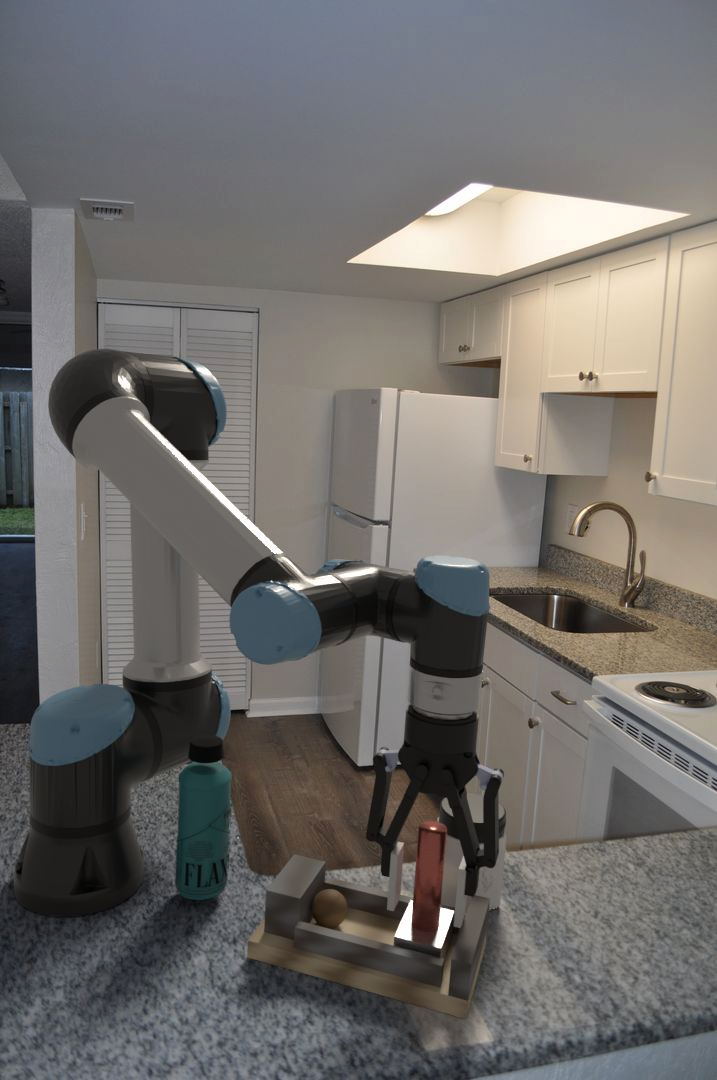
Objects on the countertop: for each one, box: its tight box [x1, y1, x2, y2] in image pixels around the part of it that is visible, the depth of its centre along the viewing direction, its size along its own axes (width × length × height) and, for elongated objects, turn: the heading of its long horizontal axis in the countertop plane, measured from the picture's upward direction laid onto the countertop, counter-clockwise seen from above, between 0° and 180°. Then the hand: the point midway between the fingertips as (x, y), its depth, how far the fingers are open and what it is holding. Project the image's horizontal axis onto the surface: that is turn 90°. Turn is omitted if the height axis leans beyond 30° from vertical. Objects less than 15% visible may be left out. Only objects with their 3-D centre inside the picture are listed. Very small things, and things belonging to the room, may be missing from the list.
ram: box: [394, 820, 454, 959], centre depth 87 cm, size 5×7×14 cm
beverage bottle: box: [173, 735, 233, 901], centre depth 97 cm, size 6×7×20 cm
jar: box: [436, 792, 507, 914], centre depth 101 cm, size 9×8×12 cm
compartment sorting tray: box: [246, 853, 490, 1020], centre depth 90 cm, size 24×12×7 cm, turn 72°
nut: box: [312, 889, 347, 928], centre depth 91 cm, size 4×4×4 cm
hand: (426, 911), depth 87 cm, fingers open, 7 cm apart
